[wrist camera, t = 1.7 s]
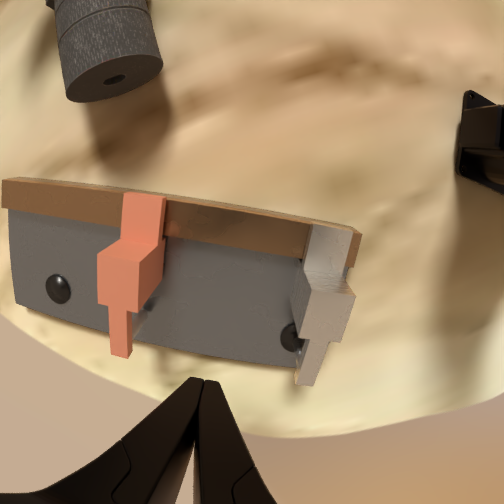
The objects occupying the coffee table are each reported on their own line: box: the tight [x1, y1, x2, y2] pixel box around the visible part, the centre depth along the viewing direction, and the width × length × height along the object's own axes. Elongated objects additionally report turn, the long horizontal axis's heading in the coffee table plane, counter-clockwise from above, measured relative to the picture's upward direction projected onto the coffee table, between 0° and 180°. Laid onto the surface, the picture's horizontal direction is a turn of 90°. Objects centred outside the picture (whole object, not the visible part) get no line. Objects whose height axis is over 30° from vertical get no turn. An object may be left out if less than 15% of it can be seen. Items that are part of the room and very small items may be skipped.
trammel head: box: [97, 192, 167, 359], centre depth 16 cm, size 2×8×4 cm, turn 170°
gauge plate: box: [2, 177, 362, 386], centre depth 17 cm, size 24×10×6 cm, turn 80°
